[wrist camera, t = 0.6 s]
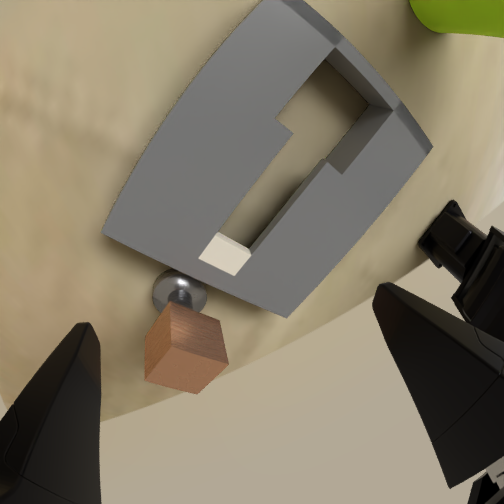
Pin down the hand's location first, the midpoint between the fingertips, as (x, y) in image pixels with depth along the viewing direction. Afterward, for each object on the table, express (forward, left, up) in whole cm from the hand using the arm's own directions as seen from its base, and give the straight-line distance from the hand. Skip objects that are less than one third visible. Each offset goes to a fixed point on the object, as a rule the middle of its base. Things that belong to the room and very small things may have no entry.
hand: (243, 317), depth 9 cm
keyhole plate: (-4, -3, -14) cm, 14 cm away
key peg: (-4, +9, -14) cm, 17 cm away
